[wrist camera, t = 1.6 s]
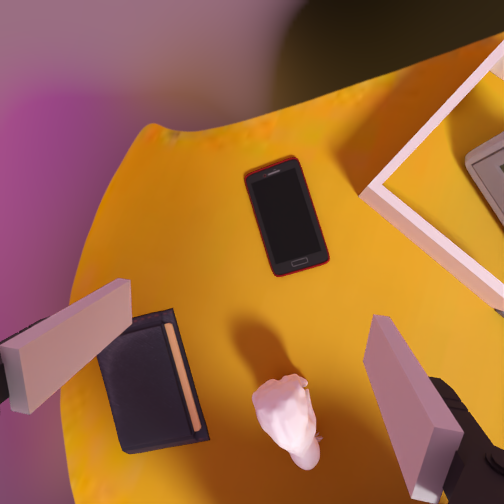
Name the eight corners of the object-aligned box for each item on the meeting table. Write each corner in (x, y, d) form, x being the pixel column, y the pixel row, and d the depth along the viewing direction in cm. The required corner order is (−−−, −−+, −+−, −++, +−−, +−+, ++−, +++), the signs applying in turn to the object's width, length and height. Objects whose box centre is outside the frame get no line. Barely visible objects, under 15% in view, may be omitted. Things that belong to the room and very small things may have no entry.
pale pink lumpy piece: (298, 394, 29) (341, 500, 29) (299, 355, 37) (332, 438, 38) (243, 409, 30) (283, 510, 30) (255, 369, 38) (287, 448, 39)
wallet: (83, 330, 43) (172, 308, 40) (93, 327, 45) (178, 305, 42) (114, 461, 42) (208, 449, 39) (123, 452, 44) (212, 439, 41)
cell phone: (275, 278, 38) (274, 279, 37) (244, 176, 39) (242, 175, 38) (331, 262, 37) (331, 262, 36) (297, 156, 38) (297, 154, 37)
